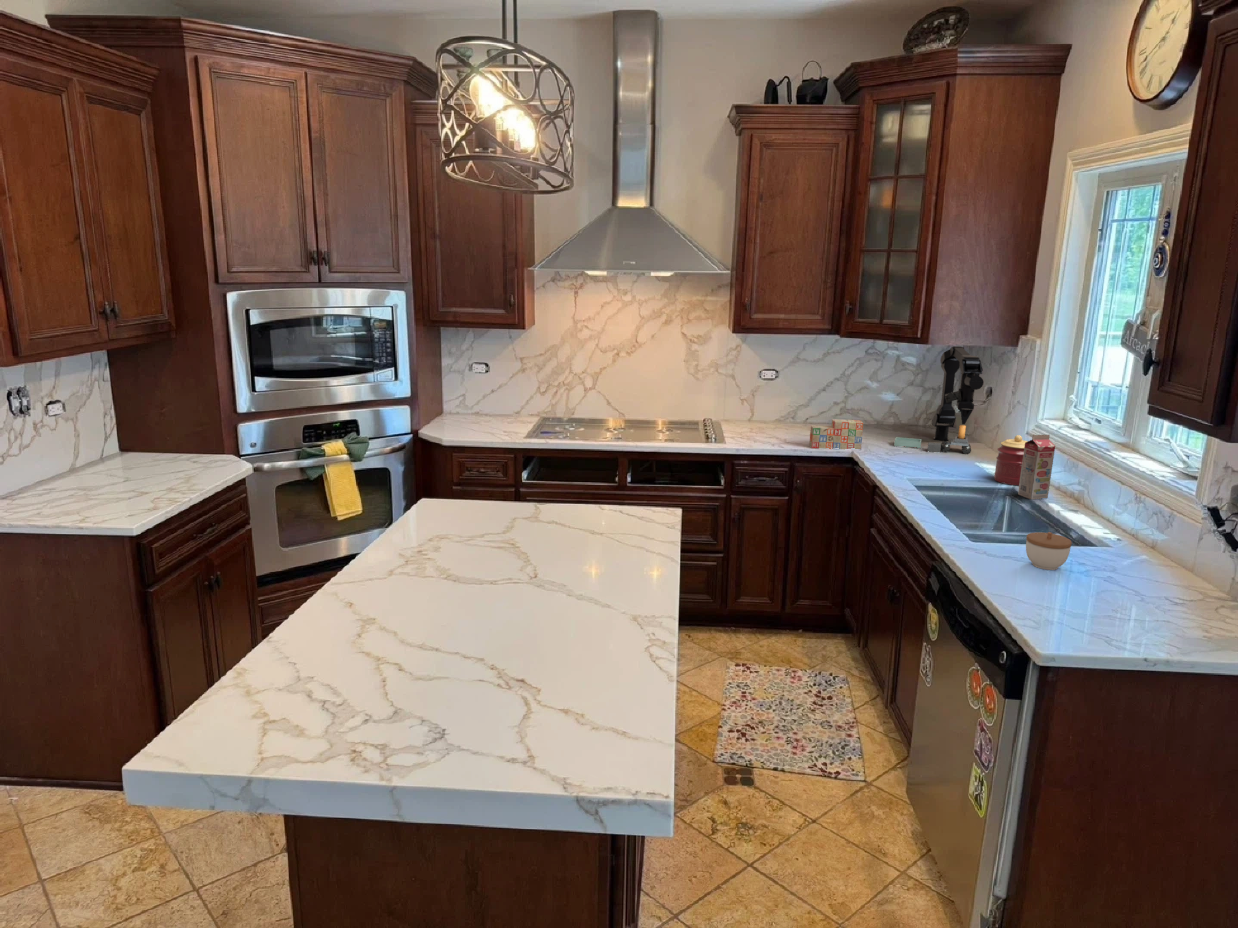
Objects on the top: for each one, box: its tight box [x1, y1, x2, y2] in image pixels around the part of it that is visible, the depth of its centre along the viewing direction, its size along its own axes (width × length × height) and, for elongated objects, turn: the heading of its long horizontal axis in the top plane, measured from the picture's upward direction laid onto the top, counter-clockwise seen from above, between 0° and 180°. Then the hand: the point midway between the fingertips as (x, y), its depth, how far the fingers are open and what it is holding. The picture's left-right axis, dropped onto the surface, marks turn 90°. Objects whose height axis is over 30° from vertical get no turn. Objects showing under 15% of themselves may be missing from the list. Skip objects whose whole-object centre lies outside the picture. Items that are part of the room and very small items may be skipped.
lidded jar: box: [1025, 531, 1073, 571], centre depth 220 cm, size 11×11×9 cm
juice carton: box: [1017, 434, 1056, 500], centre depth 286 cm, size 7×7×22 cm
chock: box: [927, 442, 942, 453], centre depth 357 cm, size 4×5×4 cm
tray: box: [893, 436, 922, 449], centre depth 366 cm, size 6×11×3 cm, turn 69°
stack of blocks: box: [808, 418, 864, 450], centre depth 359 cm, size 21×6×12 cm, turn 86°
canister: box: [993, 434, 1029, 486], centre depth 306 cm, size 13×13×18 cm
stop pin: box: [957, 424, 967, 439], centre depth 355 cm, size 3×3×7 cm
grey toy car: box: [940, 435, 972, 455], centre depth 357 cm, size 8×12×6 cm, turn 69°
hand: (963, 422), depth 354 cm, fingers open, 8 cm apart
